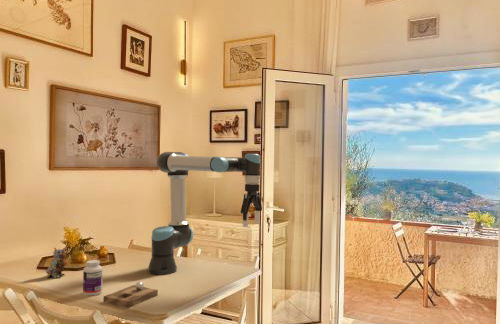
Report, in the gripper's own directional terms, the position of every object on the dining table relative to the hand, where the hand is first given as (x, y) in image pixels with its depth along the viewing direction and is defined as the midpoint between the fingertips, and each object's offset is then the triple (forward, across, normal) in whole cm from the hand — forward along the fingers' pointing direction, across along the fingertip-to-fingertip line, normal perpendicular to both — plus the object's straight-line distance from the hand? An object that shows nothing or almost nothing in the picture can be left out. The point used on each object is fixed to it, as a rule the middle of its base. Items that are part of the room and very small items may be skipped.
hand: (251, 225), depth 214 cm
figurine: (+28, -46, +88) cm, 103 cm away
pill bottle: (+28, -56, +51) cm, 81 cm away
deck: (+28, -53, +31) cm, 68 cm away
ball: (+25, -48, +31) cm, 63 cm away
